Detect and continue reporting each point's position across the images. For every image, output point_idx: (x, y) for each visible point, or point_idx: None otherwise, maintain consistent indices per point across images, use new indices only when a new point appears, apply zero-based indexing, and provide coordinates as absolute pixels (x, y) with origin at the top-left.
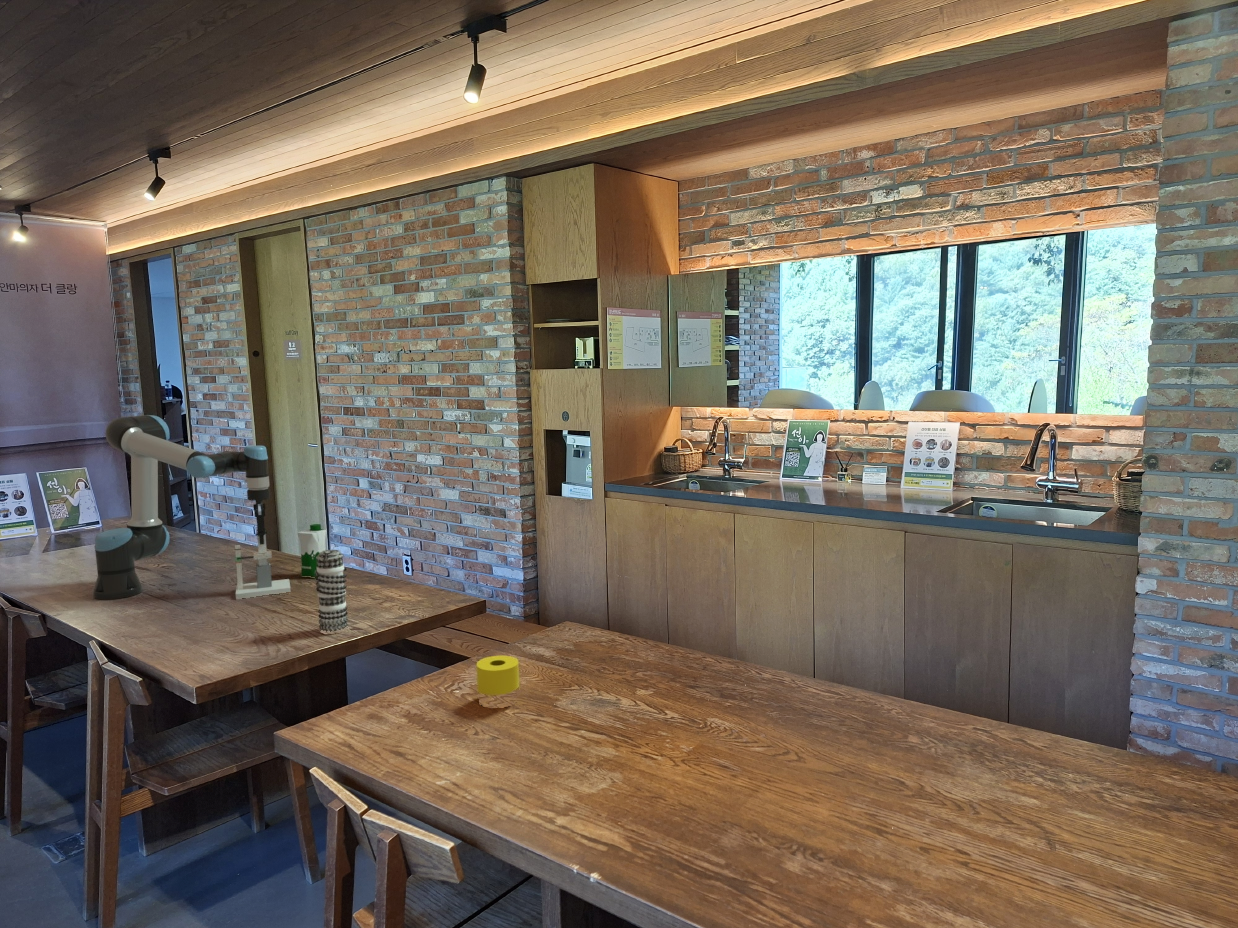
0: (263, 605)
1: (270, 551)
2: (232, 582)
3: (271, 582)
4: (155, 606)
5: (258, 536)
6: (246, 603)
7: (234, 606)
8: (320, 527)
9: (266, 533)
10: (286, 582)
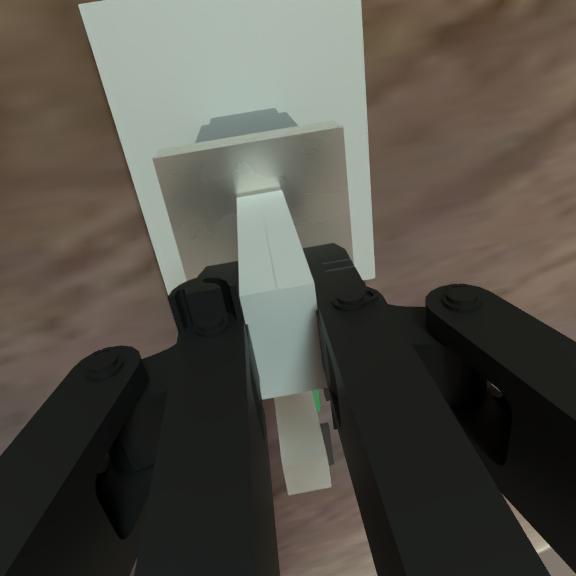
0: (547, 110)
1: (202, 159)
2: (8, 350)
3: (277, 111)
4: (345, 497)
5: (322, 365)
6: (462, 204)
7: (487, 248)
8: None
9: (222, 286)
10: (187, 12)
